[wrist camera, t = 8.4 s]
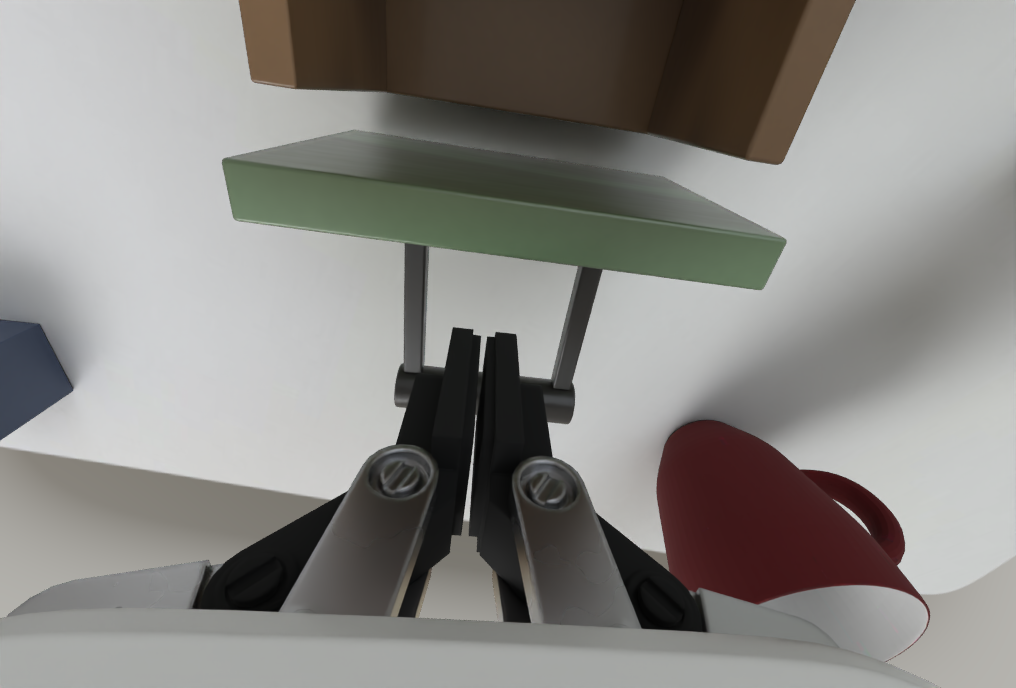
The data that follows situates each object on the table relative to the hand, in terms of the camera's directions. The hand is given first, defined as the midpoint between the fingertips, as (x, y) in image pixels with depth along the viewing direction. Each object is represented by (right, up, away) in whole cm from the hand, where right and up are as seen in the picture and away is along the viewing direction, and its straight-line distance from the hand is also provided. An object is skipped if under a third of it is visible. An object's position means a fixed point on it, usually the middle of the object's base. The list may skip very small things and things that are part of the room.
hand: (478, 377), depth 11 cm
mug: (+13, -5, +13) cm, 19 cm away
